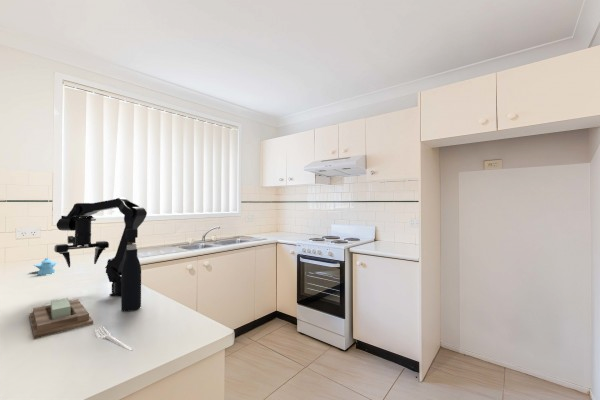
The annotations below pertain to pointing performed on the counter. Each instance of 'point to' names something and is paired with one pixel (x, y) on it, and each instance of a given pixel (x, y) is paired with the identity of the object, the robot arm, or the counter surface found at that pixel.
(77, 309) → the socket board
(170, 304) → the counter surface
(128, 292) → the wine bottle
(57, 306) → the peg
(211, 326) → the counter surface
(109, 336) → the fork
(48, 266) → the blue spiky figurine
